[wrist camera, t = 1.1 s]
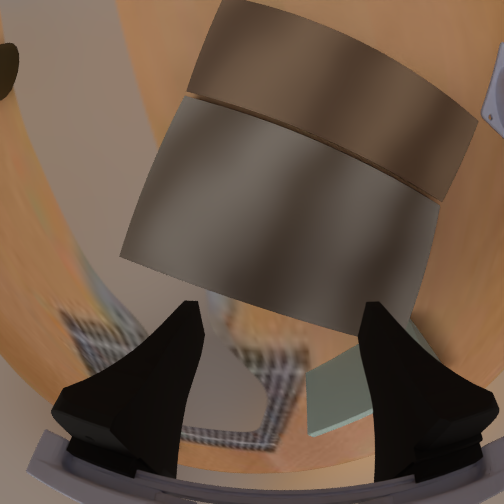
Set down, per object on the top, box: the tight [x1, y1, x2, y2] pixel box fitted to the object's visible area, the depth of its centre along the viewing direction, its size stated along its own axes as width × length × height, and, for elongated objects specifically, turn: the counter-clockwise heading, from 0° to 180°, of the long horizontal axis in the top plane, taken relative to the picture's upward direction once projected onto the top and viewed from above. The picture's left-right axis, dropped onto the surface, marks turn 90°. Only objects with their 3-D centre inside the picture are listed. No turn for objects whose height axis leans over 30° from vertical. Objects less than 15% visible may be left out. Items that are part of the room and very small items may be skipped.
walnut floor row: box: [187, 0, 478, 202], centre depth 15 cm, size 18×7×2 cm, turn 70°
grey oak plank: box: [120, 96, 440, 337], centre depth 16 cm, size 18×10×2 cm, turn 70°
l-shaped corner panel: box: [306, 318, 441, 437], centre depth 24 cm, size 12×12×8 cm
